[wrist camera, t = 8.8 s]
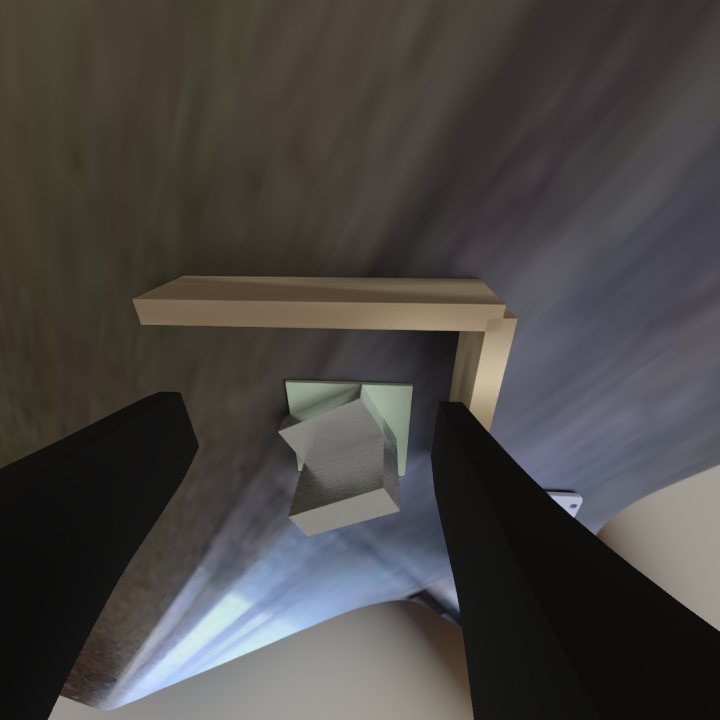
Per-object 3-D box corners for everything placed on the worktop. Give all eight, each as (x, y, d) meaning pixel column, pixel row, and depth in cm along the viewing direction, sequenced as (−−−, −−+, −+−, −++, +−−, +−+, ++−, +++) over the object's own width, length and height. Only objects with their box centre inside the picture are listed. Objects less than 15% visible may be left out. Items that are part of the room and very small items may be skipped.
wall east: (476, 301, 17) (499, 331, 13) (188, 297, 18) (141, 324, 14) (480, 278, 16) (506, 304, 13) (182, 275, 17) (132, 299, 14)
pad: (404, 472, 24) (404, 475, 23) (299, 467, 24) (298, 470, 24) (412, 383, 20) (412, 386, 19) (286, 379, 20) (285, 382, 20)
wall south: (457, 455, 22) (470, 505, 19) (440, 454, 22) (450, 504, 19) (489, 290, 17) (517, 318, 13) (466, 290, 17) (487, 318, 13)
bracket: (323, 464, 23) (307, 536, 19) (284, 416, 21) (255, 483, 17) (396, 438, 22) (400, 510, 17) (362, 384, 20) (354, 448, 15)
